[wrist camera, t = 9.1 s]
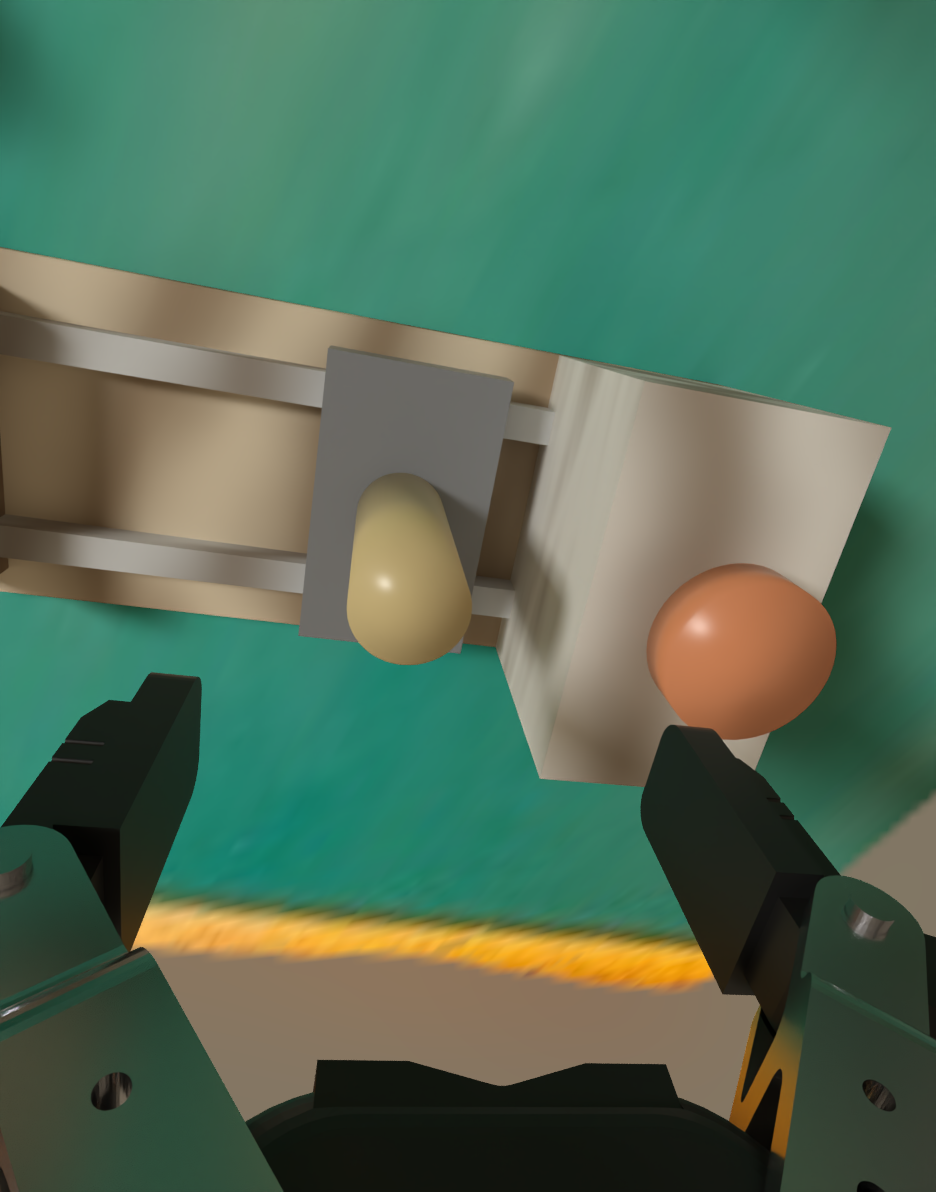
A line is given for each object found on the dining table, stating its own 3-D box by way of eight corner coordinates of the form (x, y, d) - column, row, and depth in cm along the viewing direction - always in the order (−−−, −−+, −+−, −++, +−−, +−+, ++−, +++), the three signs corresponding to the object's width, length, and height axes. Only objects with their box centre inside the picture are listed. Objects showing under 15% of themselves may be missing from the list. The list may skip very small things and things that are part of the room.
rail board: (716, 384, 28) (891, 427, 19) (635, 652, 33) (743, 799, 23) (-56, 236, 23) (-361, 191, 14) (-27, 576, 28) (-242, 722, 18)
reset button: (829, 574, 18) (863, 595, 17) (772, 718, 20) (799, 746, 19) (673, 552, 18) (696, 572, 16) (627, 703, 19) (645, 732, 18)
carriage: (506, 377, 24) (578, 420, 15) (455, 635, 28) (491, 788, 19) (331, 345, 23) (301, 372, 14) (302, 617, 27) (265, 771, 18)
